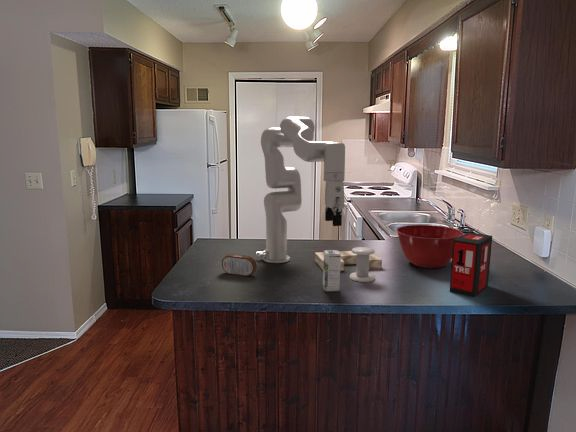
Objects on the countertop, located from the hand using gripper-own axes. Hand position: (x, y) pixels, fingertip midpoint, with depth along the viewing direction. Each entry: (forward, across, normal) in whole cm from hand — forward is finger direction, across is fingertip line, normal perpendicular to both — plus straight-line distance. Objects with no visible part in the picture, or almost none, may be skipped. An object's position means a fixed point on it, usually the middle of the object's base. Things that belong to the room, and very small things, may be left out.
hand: (333, 223), depth 167 cm
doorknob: (+25, +10, -16) cm, 32 cm away
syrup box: (+26, 0, 0) cm, 26 cm away
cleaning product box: (+26, -9, -52) cm, 59 cm away
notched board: (+25, +29, -16) cm, 42 cm away
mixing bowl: (+26, +24, -52) cm, 63 cm away
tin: (+26, +23, +33) cm, 48 cm away
